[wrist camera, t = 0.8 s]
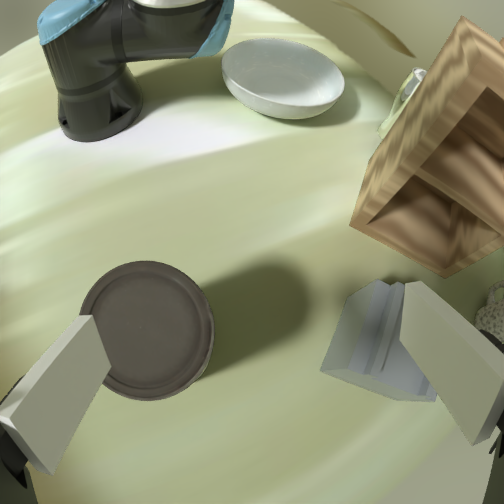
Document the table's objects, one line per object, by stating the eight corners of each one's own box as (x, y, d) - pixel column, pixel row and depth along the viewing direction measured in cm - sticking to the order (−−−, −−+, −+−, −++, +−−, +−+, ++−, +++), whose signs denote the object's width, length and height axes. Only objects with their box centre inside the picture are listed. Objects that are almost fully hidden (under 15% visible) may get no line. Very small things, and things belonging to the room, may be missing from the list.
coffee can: (125, 389, 31) (77, 395, 18) (124, 302, 35) (82, 260, 22) (215, 390, 33) (218, 401, 20) (210, 301, 36) (212, 259, 23)
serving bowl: (303, 62, 57) (311, 36, 51) (352, 130, 51) (367, 103, 44) (206, 69, 52) (208, 40, 46) (239, 145, 46) (244, 112, 39)
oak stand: (445, 278, 42) (603, 175, 13) (349, 225, 43) (487, 48, 14) (452, 210, 47) (568, 101, 19) (369, 160, 48) (465, 9, 20)
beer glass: (413, 145, 52) (453, 92, 38) (393, 155, 50) (436, 97, 36) (389, 119, 54) (424, 65, 40) (368, 127, 52) (403, 67, 38)
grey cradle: (397, 400, 34) (443, 401, 26) (319, 370, 35) (354, 368, 26) (418, 331, 38) (463, 317, 29) (347, 297, 39) (384, 274, 30)
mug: (496, 347, 39) (524, 339, 33) (473, 343, 39) (503, 336, 32) (496, 291, 43) (522, 279, 37) (473, 284, 42) (500, 271, 36)
